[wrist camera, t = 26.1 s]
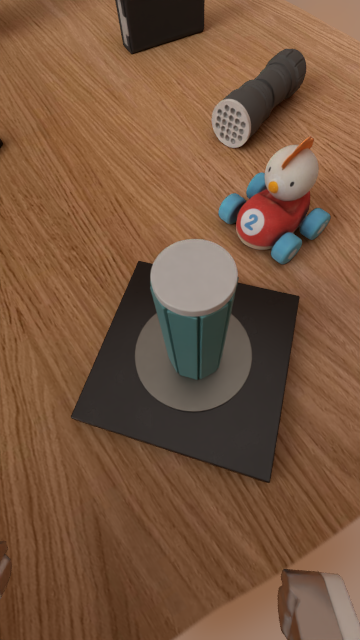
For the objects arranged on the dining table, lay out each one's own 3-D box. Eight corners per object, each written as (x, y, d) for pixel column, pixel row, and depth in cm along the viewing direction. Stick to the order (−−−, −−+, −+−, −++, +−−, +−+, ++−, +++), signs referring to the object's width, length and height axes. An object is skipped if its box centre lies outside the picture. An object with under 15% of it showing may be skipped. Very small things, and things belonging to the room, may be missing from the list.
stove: (265, 482, 23) (271, 483, 22) (76, 420, 26) (68, 417, 25) (295, 303, 30) (300, 294, 28) (140, 268, 33) (137, 258, 31)
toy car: (212, 225, 35) (216, 140, 26) (264, 185, 37) (286, 95, 28) (275, 274, 31) (306, 197, 22) (329, 227, 34) (376, 140, 25)
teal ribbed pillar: (214, 385, 25) (226, 321, 14) (163, 370, 26) (137, 299, 15) (226, 336, 27) (246, 247, 16) (178, 324, 28) (165, 231, 17)
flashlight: (270, 83, 46) (278, 37, 41) (303, 94, 44) (316, 48, 40) (210, 139, 41) (212, 94, 36) (245, 153, 40) (252, 109, 35)
